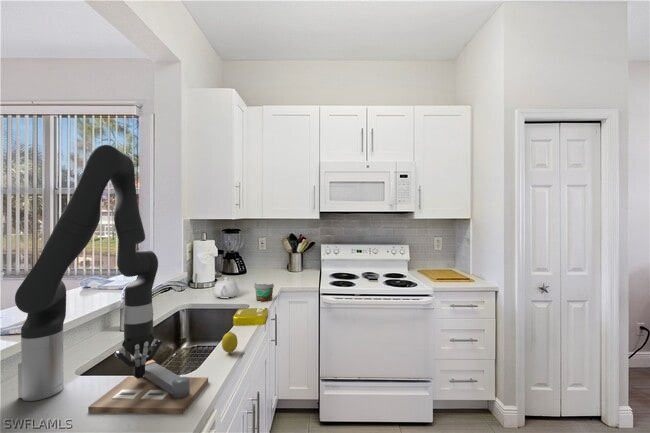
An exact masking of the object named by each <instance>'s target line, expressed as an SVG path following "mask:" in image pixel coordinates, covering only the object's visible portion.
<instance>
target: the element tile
mask: <svg viewBox="0 0 650 433" xmlns="http://www.w3.org/2000/svg"><path fill="white" fill-rule="evenodd" d="M268 319H269V308H268V307H254V308H253V307H252V308H251V307H250V308H245V307H244V308H239V309H237V311H236V312H235V314H234V315H233V316H232V325H233V326H235V327H244V326H245V327H246V326H263V325H266V324H267V322H268Z"/></svg>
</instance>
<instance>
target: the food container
mask: <svg viewBox="0 0 650 433" xmlns="http://www.w3.org/2000/svg"><path fill="white" fill-rule="evenodd" d="M274 287H275V285H274V283H271V284H267V283H263V284H258V283H257V282H255V283H254V286H253V288H254V289H255V300H256V301H257V302H258V301H261V302H260V303H265V302H267V303H268V302H271V301H273V291H274Z"/></svg>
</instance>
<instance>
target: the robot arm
mask: <svg viewBox="0 0 650 433" xmlns="http://www.w3.org/2000/svg"><path fill="white" fill-rule="evenodd" d="M135 173H136V171H135V164H134V161H133V159H132V158H131V156H130V155H128V154H127V153H126V152H123V151H122V150H120V149H118V148H117V147H115V146H113V145H109V144H102V145H99V146H97V147H96V148H94V150H93V151H92V152H91V153H90V155H89V157H88V159H87V161H86V162H85V166H84V168H83V171H82V173H81V175H80V178H79V180H78V183H77V185H76V187H75V189H74V191H73V193H72V195H71V197H70V199H69V200H68V203H67V204H66V206H65V208H64V210H63V212H62V213H61V214H60V217H59V218H58V220H57V222H56V223H55V226H54V227H53V229H52V232H51V234H50V235H49V237H48V239H47V241H46V244H45V245H44V247H43V249H42V250H41V253H40V255H39V257H38V259H37V261H36V262H35V263H34V266H33V267H32V268H31V270H30V271H29V273H27V276H26V277H25V278H24V279H23V281H22V283H20V286H18V288H17V289H16V293H15V296H14V302H15V303H14V304H15V305H16V307H17V309H18V310H20V311H21V312H22V313H26V314H27V317H26V319H25V321H24V323H23V324H22V326H21V328H20V346H21V347H20V348H21V349H20V350H21V351H20V354H21V355H20V356H21V357H20V358H21V361H20V362H19V363H18V364H17V387H18V388H17V391H18V393H17V394H18V396H17V397H18V399H20V398H21V399H22V400H23V401H26V402H33V401H39V400H45V399H47V398H50V397H52V396H55V395H57V394H59V393H60V392H61V391H63V389H64V388H65V377H64V376H65V373H64V372H65V371H64V370H65V367H64V365H65V362H64V358H65V357H64V322H65V321H66V314H67V288H66V285H65V282H64V281H63V280H62V279H63V277H64V275H65V273H66V272H67V270H68V268H70V266H71V264H72V263H73V262H74V261H75V260H76V259H77V258H78V256H80V254H81V253H82V252H83V250H85V248H86V247H87V246H88V244H89V243H90V241H91V239H92V237H93V235H94V234H95V232H96V230H97V229H98V226H99V224H100V220H101V210H102V208H101V207H102V196H103V194H104V191H105V189H106V188H107V185H108V183H109V182H111V185H112V187H113V190H114V197H115V201H114V203H115V204H114V210H113V224H114V228H115V232H116V236H117V240H118V241H117V242H118V244H117V256H116V257H117V258H116V266H117V269H118V271H119V272H120V274H121V275H122V276H124V277H126V278H127V277H128V278H131V277H132V278H133V277H136V278H135V279H136V280H134V281H133V282H132V283H129V284H128V285H127V286H125V289H124V310H123V342H122V343H121V347H120V348H119V349H118V350H115V351H114V352H113V355H114V356H115V357H117V358H118V359H119V360H120V361H121V362H123V363H124V364H125V365H126V366H128V367H129V368H132V377H135V378H137V379H139V378H142V377H144V376H143V375H144V374H145V363H146V362H147V361H150V360H153V358H154V357H155V355H156V353H158V350H159V348H160V347H161V345H162V344H163V342H162V340H160V339H159V338H158V339H156V338H155V335H154V307H153V287H154V283H155V280H156V275H157V272H158V268H159V260H158V257H157V255H156V253H155V252H154V251H152V250H148V249H147V250H146V249H145V250H138V251H136V249H137V248H136V247H137V245H139V244H141V243H142V242H144V241H145V239H146V234H145V229H144V226H143V220H142V218H141V217H142V216H141V212H140V209H139V203H138V197H137V188H136V174H135ZM126 352H127V353H128V354H130V358H131V360H130V359H129V358H128V357H127V356H126Z"/></svg>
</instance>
